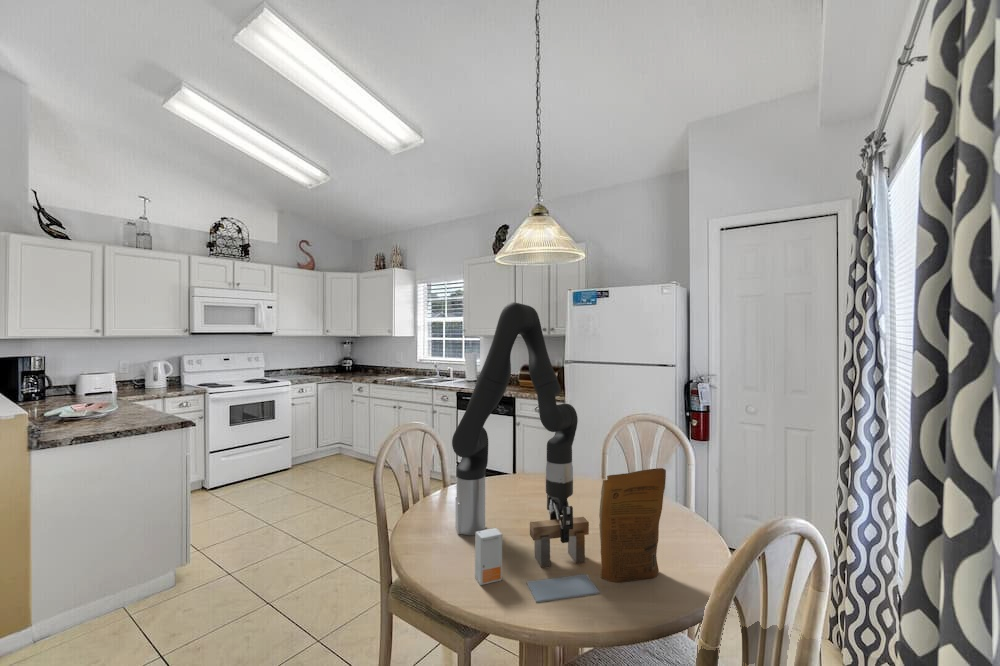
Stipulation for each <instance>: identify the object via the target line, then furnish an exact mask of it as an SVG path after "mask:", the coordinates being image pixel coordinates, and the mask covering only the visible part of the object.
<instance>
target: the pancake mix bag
mask: <svg viewBox="0 0 1000 666" xmlns="http://www.w3.org/2000/svg"><path fill="white" fill-rule="evenodd" d="M666 477H667V469H665V468H662V467H660V468H651V469H650V468H649V469H643V470H636V471H632V472H627V473H619V474H610V475H606V479H603V480H602V484H601V491H600V505H599V513H598V514H599V538H600V539H599V540H600V542H599V543H600V558H601V559H600V561H601V572H600V579H602V580H605V581H607V582H611V583H624V582H631V581H632V582H634V581H639V580H648V579H655V578H657V576H658V574H659V572H660V570H659V565H658V561H657V560H658V557H657V552H658V551H657V550H658V543H659V538H660V537H659V528H660V520H661V515H662V511H663V504H664V494H665V489H666V480H667V478H666Z"/></svg>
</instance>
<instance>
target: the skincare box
mask: <svg viewBox="0 0 1000 666" xmlns="http://www.w3.org/2000/svg"><path fill="white" fill-rule="evenodd" d="M500 531H501V530H499V529H498V528H497V527H495V528H485V530H482V531H477V532H475V535H474V538H475V540H474V544H475V545H474V551H475V552H474V578H475V580H476V581H477V583H478V584H479V586H483V585H487V584H491V583H496V582H501V581H502V580H503V577H502V576H503V533H502V532H500Z"/></svg>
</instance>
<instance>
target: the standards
mask: <svg viewBox="0 0 1000 666" xmlns="http://www.w3.org/2000/svg"><path fill="white" fill-rule="evenodd" d="M585 539H586V538H585V535H584V532H583V531H582V532H575V536H571V537H569V542H568V543H567V554H568V555H569V556H570V557H571V559H572V560H573V562H574V563H575V565H576V564H584V563H585V562H586V561H585V559H586V558H585V557H586V555H585V553H586V551H585V550H586V548H585V547H586V546H585V545H586V543H585V542H586V540H585ZM534 559H535V560H536V562H537V564H538V565H539V567H540V569H545V568H551V539H550V536H549V535H545V536H540V540H534Z"/></svg>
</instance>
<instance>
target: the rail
mask: <svg viewBox="0 0 1000 666" xmlns="http://www.w3.org/2000/svg"><path fill="white" fill-rule="evenodd" d="M562 521H563V520H562ZM566 524H567V522H566ZM589 526H590V522H589V521H588V519H586V517H584V516H579V517H578V516H577V517H573V529H569V537H571V536H575V532H582V531H583V532H584V536H587V535H589V534H590V531H589V529H590V527H589ZM545 535H549V536H550V540H552V539H559V538H560V522H559V521H558V520H557V519H556V520H550V519H548V520H537V521H530V522H529V536H530V537H531V539H532V540H533V541H534V542H535V540H540V536H545Z"/></svg>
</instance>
